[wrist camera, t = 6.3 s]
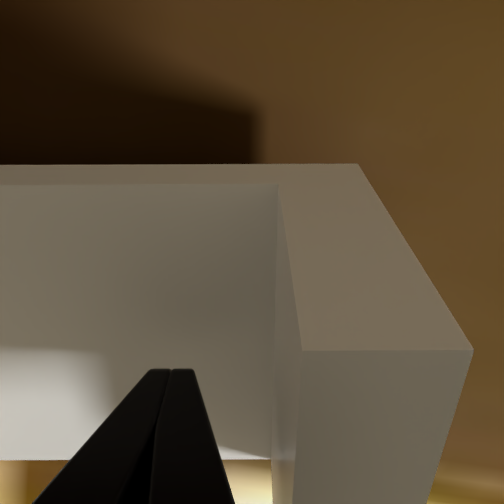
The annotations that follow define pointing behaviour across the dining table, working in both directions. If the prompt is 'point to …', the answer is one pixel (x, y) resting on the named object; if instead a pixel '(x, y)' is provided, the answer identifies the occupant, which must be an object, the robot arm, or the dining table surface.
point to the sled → (229, 319)
